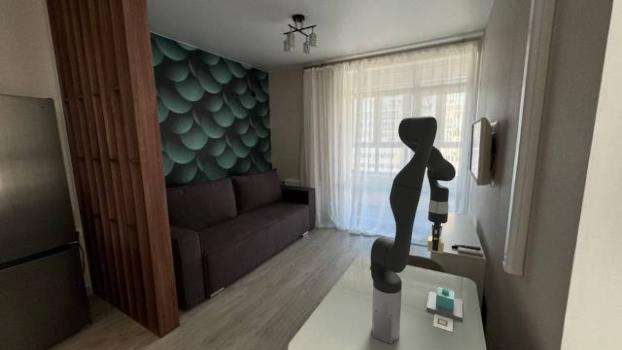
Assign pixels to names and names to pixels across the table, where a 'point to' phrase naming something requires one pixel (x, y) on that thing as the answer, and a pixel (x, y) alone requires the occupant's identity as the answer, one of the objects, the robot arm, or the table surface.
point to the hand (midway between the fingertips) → (435, 247)
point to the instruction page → (443, 322)
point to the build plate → (454, 313)
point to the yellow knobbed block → (440, 245)
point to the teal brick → (445, 298)
